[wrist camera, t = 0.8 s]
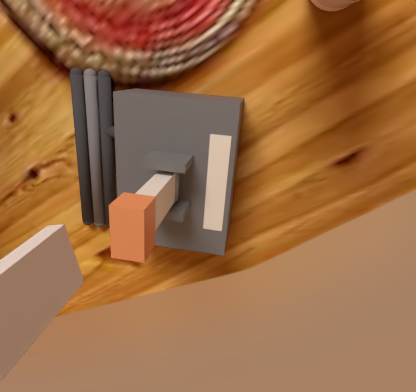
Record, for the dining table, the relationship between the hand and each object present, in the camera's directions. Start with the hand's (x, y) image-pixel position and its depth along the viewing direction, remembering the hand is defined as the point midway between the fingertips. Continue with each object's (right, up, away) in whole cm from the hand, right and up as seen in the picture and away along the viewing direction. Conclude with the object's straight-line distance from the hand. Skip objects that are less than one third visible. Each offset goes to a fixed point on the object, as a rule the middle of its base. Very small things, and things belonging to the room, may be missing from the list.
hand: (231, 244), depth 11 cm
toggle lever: (-5, +3, +19) cm, 20 cm away
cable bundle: (-13, +7, +27) cm, 30 cm away
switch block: (-3, +6, +26) cm, 27 cm away
